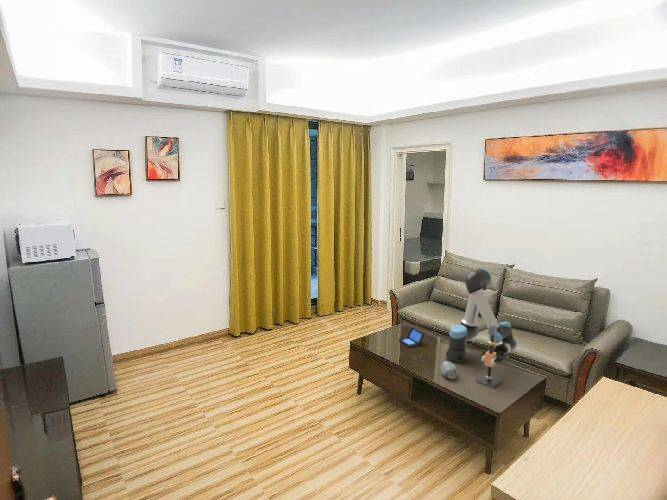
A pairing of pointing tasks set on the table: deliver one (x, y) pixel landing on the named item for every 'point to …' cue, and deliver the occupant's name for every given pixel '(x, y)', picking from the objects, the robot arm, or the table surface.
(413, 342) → the handheld game console
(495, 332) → the stand
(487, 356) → the sleeve
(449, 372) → the spool
